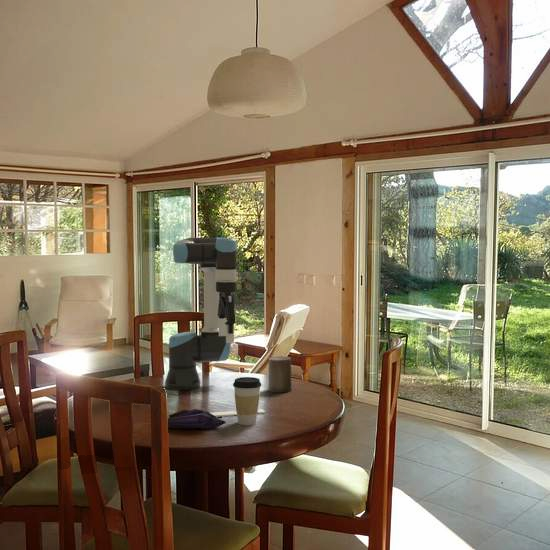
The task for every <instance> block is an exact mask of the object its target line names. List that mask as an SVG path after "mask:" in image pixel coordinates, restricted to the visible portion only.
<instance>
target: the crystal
mask: <svg viewBox="0 0 550 550" xmlns="http://www.w3.org/2000/svg"><path fill="white" fill-rule="evenodd" d="M211 413H212V412H210V411H208V410H201V409H197V408H194V409H190V410H188V409H182V410H180V411H176V412H174V413H172V414H168V418H167V419H168V426H169V427H170V428H169V427H168V426H167V427H168V428H169V429H195V428H200V430H202V429H203V430H204V429H205V430H206V429H207V430H213V429H216V428H218V427H220V426H222V425H225V424H226V421H225V420H223V417H222V416H220V417H216V416H214V415H213V414H211Z"/></svg>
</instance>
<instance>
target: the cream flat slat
mask: <svg viewBox="0 0 550 550" xmlns="http://www.w3.org/2000/svg"><path fill="white" fill-rule="evenodd" d="M210 413H211V414H213V415H214V416H216V418H217V417H220V416H223V417H234V415H237V412H236V410H231V411H217V412H210ZM263 413H265V414H266V411H265V410H264V409H263V408H260V409H259V408H258V412H257V415H259V414H260V415H264V414H263Z"/></svg>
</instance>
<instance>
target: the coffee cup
mask: <svg viewBox="0 0 550 550" xmlns="http://www.w3.org/2000/svg"><path fill="white" fill-rule="evenodd" d="M232 386H233V388H234V402H235V411H236V412H237V423H239V424H238V425H240V426H253V425H256V423H257V418H258V414H257V412H258V409H259V405H260V394H261V393H260V390H261V386H262V383H261V379H260V378H258V377H252V376H243V377H242V376H241V377H237V378H235V379H234V382H233V384H232Z"/></svg>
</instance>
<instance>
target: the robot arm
mask: <svg viewBox="0 0 550 550" xmlns="http://www.w3.org/2000/svg"><path fill="white" fill-rule="evenodd" d="M237 246H238V245H237V239H236V238H231V237H230V238H227V237H217V236H214V237H187V238H183V239H181V240H178V241H177V242H175V243H174V244H173V247H172V255H173V258H172V259H173V262H174V263H176V264H189V265H199V267H200V270H201V271H202V272H203V315H204V316H203V319H204V323H203V324H204V325H203V328H202V329H201V330H200V334H199V335H197V333H196V332H195V331H184V332H179V333H175V334H172V335H171V336H170V337H169V339H168V347H167V348H168V372H167V375H166V377H165V381H164V388H166V389H167V390H172V391H189V390H195V389H198V388H200V387H201V379H200V376H199V373H198V370H197V363H201V362H203V363H205V362H206V363H209V362H210V363H211V362H212V363H213V362H217V363H218V362H226V361H227V360H228V359H229V357H230V354H231V346H232V343H235V324H236V313H235V304H234V301H235V299H234V298H235V297H234V295H232V293H236V292H237V285H238V283H237V275H238V274H239V272H238V271H237V261H238V259H237V257H238V256H237V254H238V252H237V250H238V247H237Z"/></svg>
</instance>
